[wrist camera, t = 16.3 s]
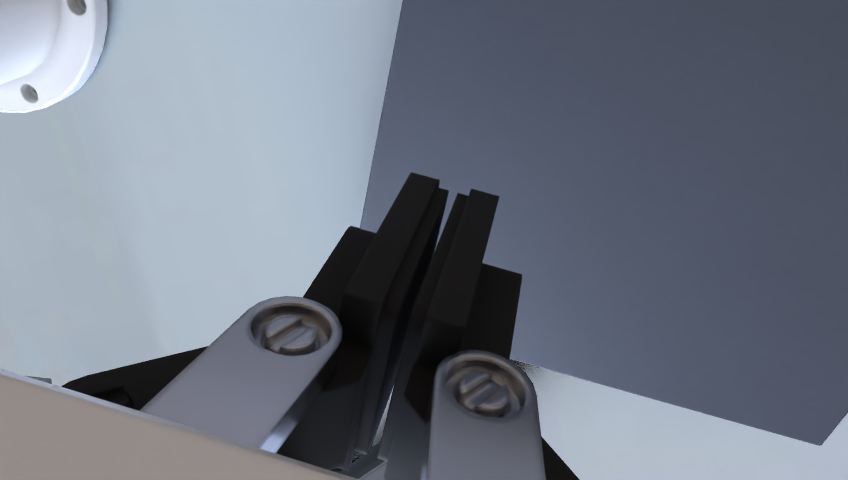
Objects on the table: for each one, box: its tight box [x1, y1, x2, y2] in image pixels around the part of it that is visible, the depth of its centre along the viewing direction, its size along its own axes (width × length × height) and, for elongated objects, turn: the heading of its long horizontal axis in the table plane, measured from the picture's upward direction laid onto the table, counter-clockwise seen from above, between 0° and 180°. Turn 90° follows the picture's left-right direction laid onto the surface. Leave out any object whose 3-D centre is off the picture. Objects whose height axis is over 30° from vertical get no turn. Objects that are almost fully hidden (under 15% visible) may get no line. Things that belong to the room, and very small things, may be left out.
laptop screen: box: [360, 0, 848, 446], centre depth 20 cm, size 21×30×1 cm
